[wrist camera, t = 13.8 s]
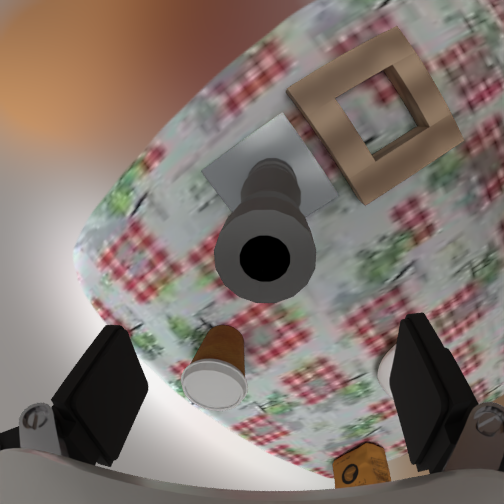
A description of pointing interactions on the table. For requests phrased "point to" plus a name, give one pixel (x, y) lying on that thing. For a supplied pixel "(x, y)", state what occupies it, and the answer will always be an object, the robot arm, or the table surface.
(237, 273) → the candle holder
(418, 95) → the socket block
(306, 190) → the metal tile
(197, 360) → the disposable coffee cup
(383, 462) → the coffee package
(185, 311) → the table surface
